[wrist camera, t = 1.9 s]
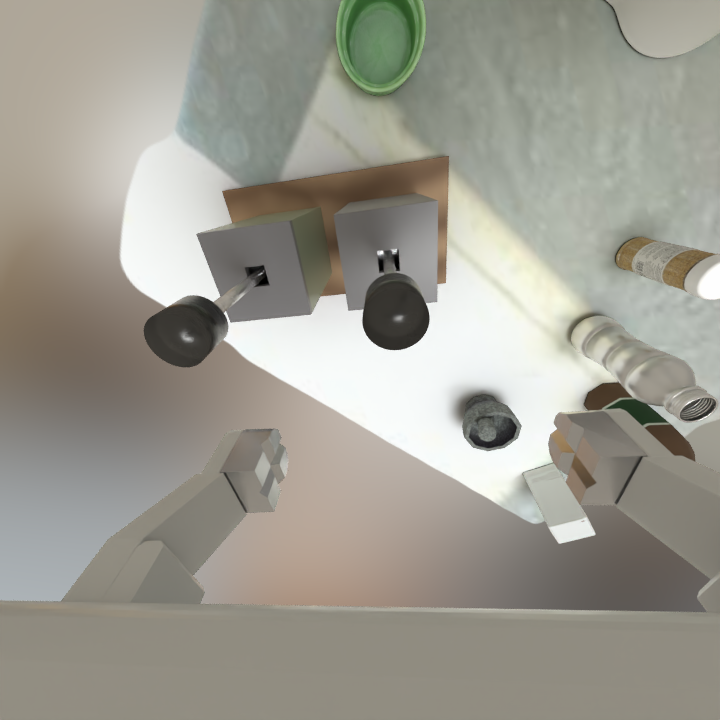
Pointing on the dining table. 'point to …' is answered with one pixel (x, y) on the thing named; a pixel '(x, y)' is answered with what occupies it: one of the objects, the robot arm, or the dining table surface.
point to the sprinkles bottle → (673, 266)
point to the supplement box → (558, 504)
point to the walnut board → (348, 201)
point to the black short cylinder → (394, 307)
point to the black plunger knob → (195, 323)
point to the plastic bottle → (643, 369)
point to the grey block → (388, 242)
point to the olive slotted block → (271, 262)
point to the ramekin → (380, 42)
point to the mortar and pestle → (489, 424)
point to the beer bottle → (639, 416)
